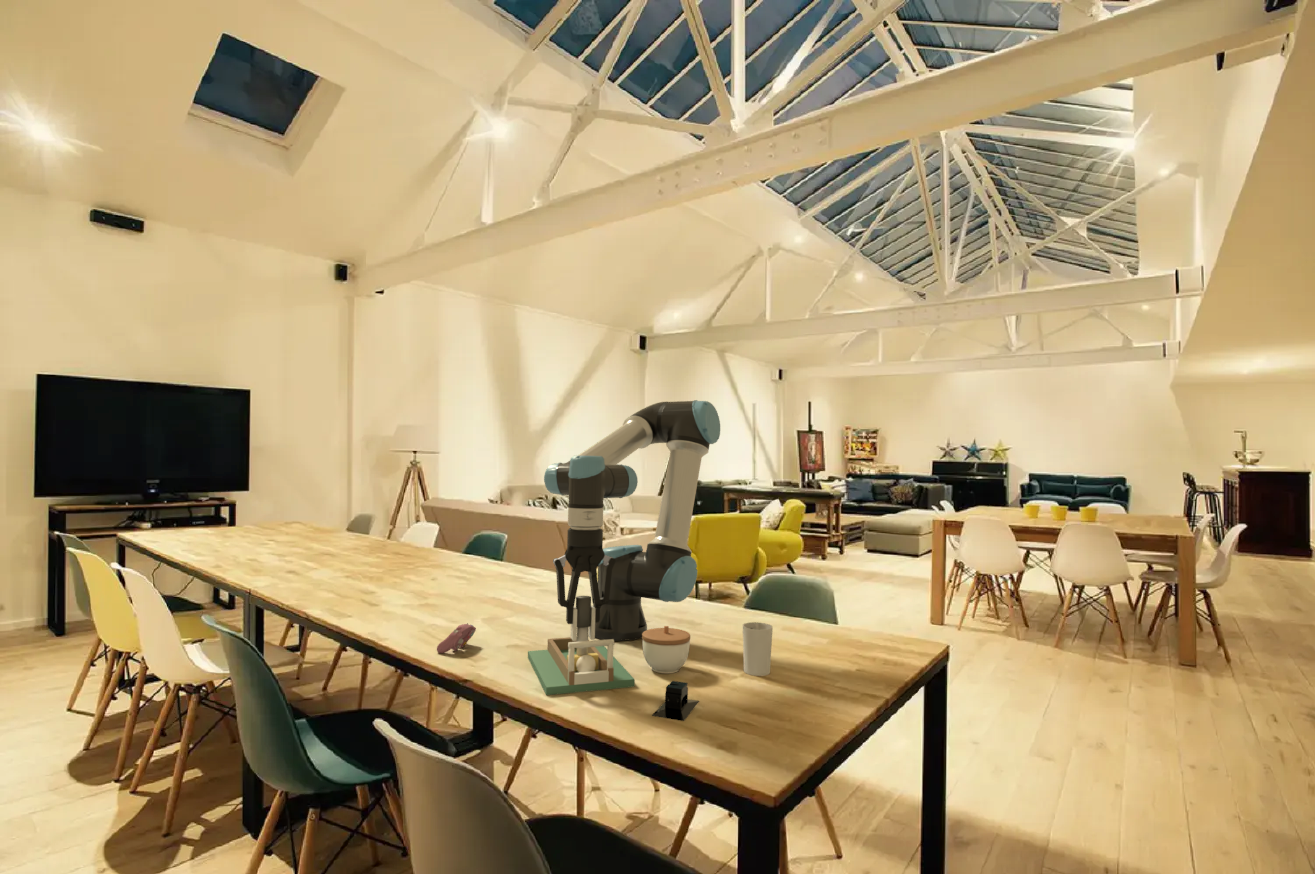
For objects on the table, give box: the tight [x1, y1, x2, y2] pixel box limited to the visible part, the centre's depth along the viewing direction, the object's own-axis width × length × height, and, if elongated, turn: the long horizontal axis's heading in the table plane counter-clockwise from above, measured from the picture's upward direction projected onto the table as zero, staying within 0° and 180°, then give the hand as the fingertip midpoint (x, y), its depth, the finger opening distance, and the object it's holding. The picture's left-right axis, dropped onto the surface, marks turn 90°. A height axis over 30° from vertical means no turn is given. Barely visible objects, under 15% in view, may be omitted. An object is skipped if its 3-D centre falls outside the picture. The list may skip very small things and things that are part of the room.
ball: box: [576, 655, 596, 672], centre depth 135 cm, size 4×4×4 cm
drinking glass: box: [742, 621, 773, 677], centre depth 145 cm, size 7×7×10 cm
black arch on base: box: [651, 680, 700, 722], centre depth 122 cm, size 13×8×5 cm, turn 161°
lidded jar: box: [641, 625, 691, 674], centre depth 145 cm, size 11×11×9 cm
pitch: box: [527, 636, 636, 696], centre depth 142 cm, size 18×25×10 cm
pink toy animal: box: [436, 622, 477, 654], centre depth 157 cm, size 10×5×7 cm, turn 169°
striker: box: [567, 595, 599, 671], centre depth 139 cm, size 6×3×15 cm, turn 109°
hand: (582, 638), depth 139 cm, fingers closed on striker, 3 cm apart
